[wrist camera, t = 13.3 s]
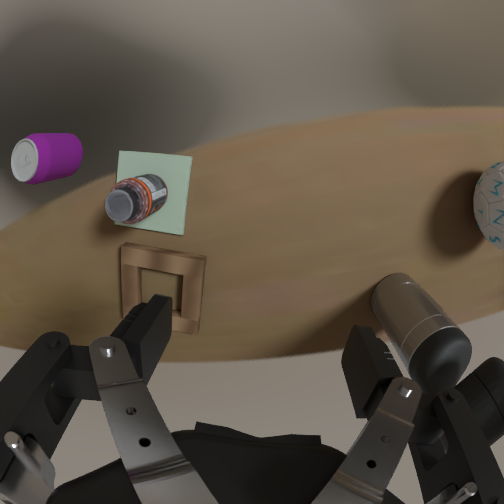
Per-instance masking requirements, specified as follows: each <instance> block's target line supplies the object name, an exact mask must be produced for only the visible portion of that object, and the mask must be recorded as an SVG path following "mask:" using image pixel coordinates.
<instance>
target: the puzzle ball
mask: <svg viewBox="0 0 504 504" xmlns="http://www.w3.org/2000/svg"><path fill="white" fill-rule="evenodd" d="M473 203H474V214H475V219H476V221H477V222H476V223H477V225H478V227H479V229H480V231H481V232H482V234H484V235H483V236H485V238H486V239H487V240H488V241H489V242H490V243H491V244H493V245H494V246H496V247H497V248H499V249H502V250H504V161H503V162H500V163H497V164H494V165H492V166H491V167H489V168H487V169H486V170H485V171H484V172H483V173H482V175H481V177H480V179H479V180H478V182H477V184H476V187H475V192H474V201H473Z"/></svg>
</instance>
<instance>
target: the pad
mask: <svg viewBox="0 0 504 504" xmlns="http://www.w3.org/2000/svg"><path fill="white" fill-rule="evenodd" d="M192 158H193V157H189V156H180V155H170V154H159V153H147V152H133V151H119V160H118V171H117V183H118V182H119V181H121V180H123V179H127V178H131V177H135V176H140V175H144V174H155V175H157V176H159V177H160V178H161V179H162V180H163V181H164V182H165V184H166V186H167V190H168V196H167V200H166V202H165V204H164V205H163V207H161V209H159V210H158V211H156V212H154V213H153V214H151V215H149V216H148V217H146V218H145V219H143V220H141V221H140V222H138V223H135V224H124V223H121V222H115V224H116V225H122V226H129V227H135V228H141V229H147V230H154V231H160V232H166V233H172V234H178V235H183V234H184V225H185V215H186V206H187V197H188V188H189V180H190V172H191V165H192Z"/></svg>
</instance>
